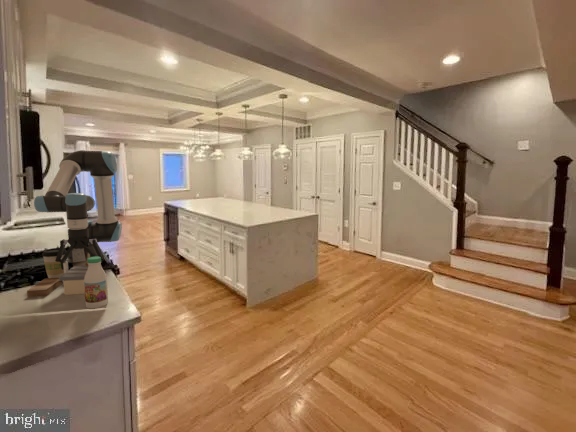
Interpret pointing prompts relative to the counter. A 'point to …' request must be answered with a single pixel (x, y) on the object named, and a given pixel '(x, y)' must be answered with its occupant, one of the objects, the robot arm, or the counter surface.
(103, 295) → the milk bottle
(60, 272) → the coffee cup
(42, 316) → the counter surface
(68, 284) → the tub
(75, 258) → the coffee box
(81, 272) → the lid
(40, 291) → the stand
